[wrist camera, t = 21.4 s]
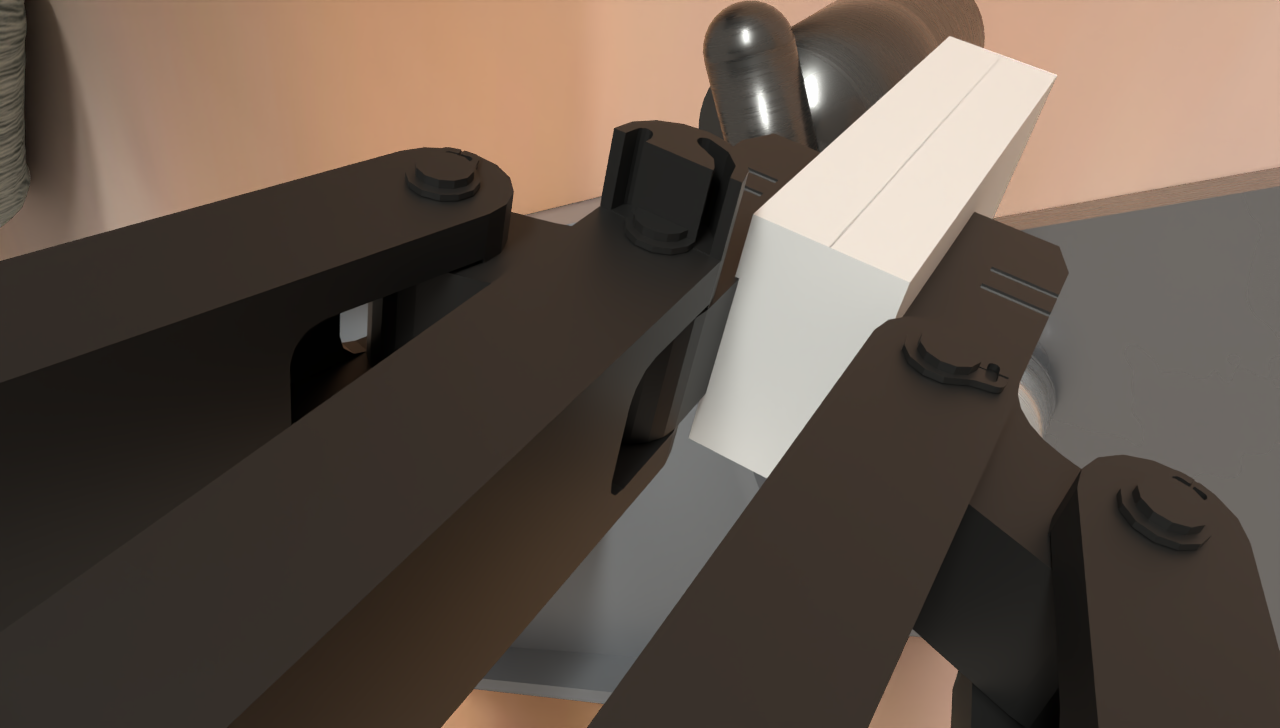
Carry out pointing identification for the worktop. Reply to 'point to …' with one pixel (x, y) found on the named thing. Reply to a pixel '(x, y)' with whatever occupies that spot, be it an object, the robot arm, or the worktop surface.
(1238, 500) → the crank plate
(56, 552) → the robot arm
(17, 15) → the spool
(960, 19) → the crank lever
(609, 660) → the tray
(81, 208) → the worktop surface
